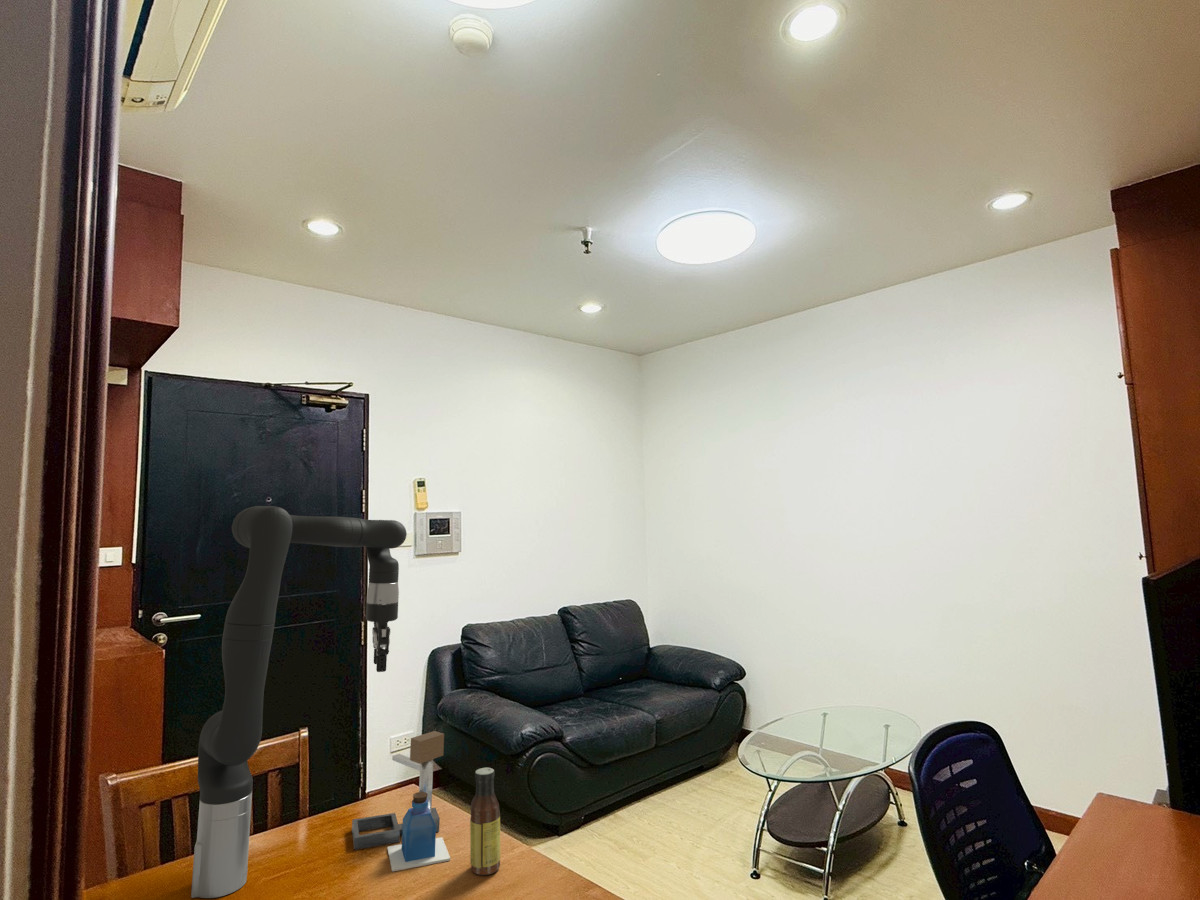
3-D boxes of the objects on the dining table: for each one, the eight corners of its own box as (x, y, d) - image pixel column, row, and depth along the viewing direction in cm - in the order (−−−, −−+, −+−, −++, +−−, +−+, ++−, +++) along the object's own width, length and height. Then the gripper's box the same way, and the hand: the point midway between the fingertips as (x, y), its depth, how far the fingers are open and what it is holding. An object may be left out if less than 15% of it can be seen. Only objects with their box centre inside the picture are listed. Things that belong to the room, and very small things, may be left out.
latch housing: (354, 850, 146) (354, 835, 146) (351, 830, 155) (352, 817, 155) (440, 835, 153) (440, 821, 153) (433, 817, 162) (434, 804, 162)
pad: (392, 871, 137) (392, 869, 137) (387, 849, 146) (387, 846, 147) (450, 860, 142) (450, 858, 142) (442, 839, 151) (442, 837, 151)
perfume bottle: (401, 848, 146) (403, 791, 147) (430, 843, 148) (432, 787, 149) (405, 862, 140) (407, 802, 141) (434, 856, 143) (437, 798, 144)
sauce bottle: (503, 862, 142) (505, 765, 144) (495, 878, 135) (498, 777, 137) (473, 860, 142) (476, 764, 144) (464, 876, 136) (467, 775, 138)
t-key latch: (381, 804, 161) (385, 729, 163) (405, 795, 167) (408, 722, 168) (417, 821, 153) (420, 741, 155) (441, 810, 158) (444, 733, 160)
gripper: (364, 597, 170) (361, 662, 168) (368, 605, 156) (365, 675, 155) (395, 596, 172) (392, 660, 171) (401, 603, 159) (398, 673, 158)
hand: (379, 667), depth 163 cm, fingers open, 8 cm apart
